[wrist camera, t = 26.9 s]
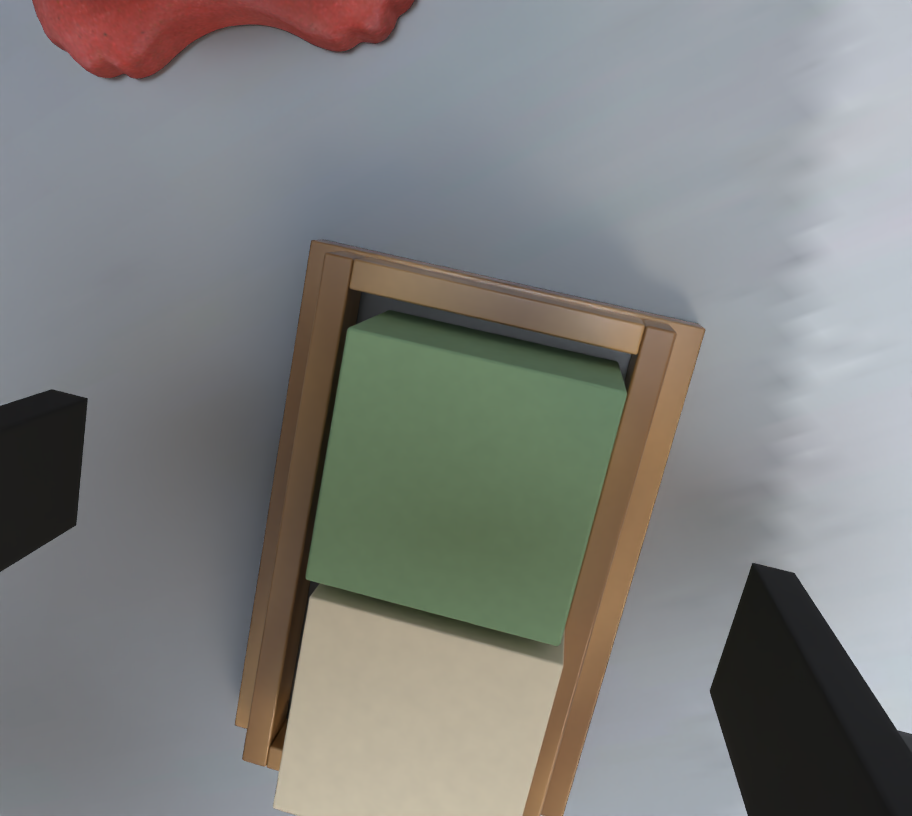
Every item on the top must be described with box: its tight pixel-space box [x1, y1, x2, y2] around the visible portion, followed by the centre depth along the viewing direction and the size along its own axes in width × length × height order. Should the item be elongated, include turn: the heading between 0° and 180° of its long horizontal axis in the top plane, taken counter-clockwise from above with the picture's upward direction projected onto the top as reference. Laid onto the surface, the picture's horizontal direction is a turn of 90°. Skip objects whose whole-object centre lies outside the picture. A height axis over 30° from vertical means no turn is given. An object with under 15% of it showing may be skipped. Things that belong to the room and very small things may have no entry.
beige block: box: [273, 583, 565, 816], centre depth 22 cm, size 6×6×4 cm
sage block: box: [306, 310, 627, 646], centre depth 20 cm, size 6×6×4 cm
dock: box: [235, 240, 705, 816], centre depth 23 cm, size 11×16×2 cm
